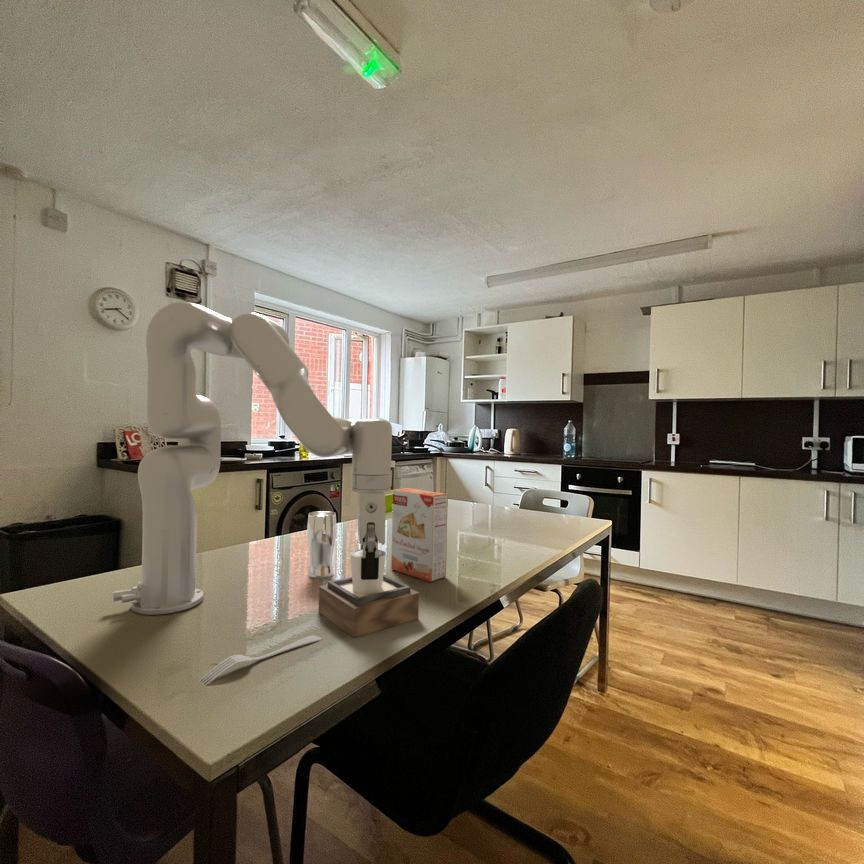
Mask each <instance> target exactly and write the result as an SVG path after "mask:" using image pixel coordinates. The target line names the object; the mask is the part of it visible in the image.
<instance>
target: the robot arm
mask: <svg viewBox="0 0 864 864" xmlns="http://www.w3.org/2000/svg"><path fill="white" fill-rule="evenodd" d="M145 348H146V357H147V358H146V359H147V361H146V362H147V385H146V386H147V387H146V389H147V390H146V391H147V392H146V393H147V395H146V399H147V400H146V403H147V404H146V420H147V425H148V429H149V430H150V432H151V433H152V434H153V435H155V436H156V437H158V438H160V439H161V438H163V439H166V440H167V439H169V440H177V445H166V446H161V447H158V448H154V449H152V450H151V451H149V452H147V453H146V454H145V455H144V456H143V457H142V459H141V460H140V462H139V465H138V469H137V480H138V481H137V482H138V487H139V491H140V497H141V504H142V505H141V507H142V526H141V527H142V535H141V536H142V541H141V543H142V544H141V549H142V550H141V580H139V581H137V585H135V586H134V585H133V586H132V587H131V588H130V589H129V588H128V589H119V590H118V589H117V590H114V591H113V590H112V595H111V596H112V602H113V603H114V602H119V601H121V603H122V604H125V603H129V602H131V610H132V611H133V612H135V613H137V614H140V615H151V616H154V615H156V616H157V615H167V614H173V613H178V612H182V611H186V610H189V609H191V608H193V607H195V606H197V605H199V604H200V603H201V602H203V600H204V596H205V595H204V591H202V589H200V588H196V583H197V582H196V577H197V573H196V572H197V571H196V570H197V569H196V568H197V535H198V533H197V530H198V522H197V520H198V518H197V517H198V515H197V514H198V513H197V506H196V501H195V498H194V496H193V493H192V490H196V489H200V488H204V487H207V486H209V485H210V484H211V483H213V482H214V481H215V480H216V478H217V477H218V475H219V472H220V468H221V457H222V456H221V453H222V452H221V448H222V447H221V446H222V444H221V441H222V440H221V439H222V437H221V436H222V435H221V434H222V431H221V430H222V421H221V415H220V412H219V409H218V407H217V406H216V404H215V403H214V402H213V401H212V400H211V399H209V398H208V397H206V396H203V395H200V394H197V385H196V383H197V370H196V365H195V362H194V359H193V357H192V353H191V350H193V349H195V350H198V351H200V352H201V351H202V352H204V353H209V354H212V355H216V356H219V357H225V358H226V357H227V358H235V359H242V360H244V361H245V362H246V363H247V364H248V366H249V367H250V368H251V369H252V371H253V372H254V373H255V374H256V375H257V377H258V378H259V379H260V381H261V382H262V383H263V384H264V386H265V387H266V388H267V390H268V391H269V392H270V395H271V397H272V400H273V403H274V405H275V407H276V408H277V411H278V413H279V415H280V417H281V418H282V420H283V421H284V423H285V424H286V426H287V427H288V429H290V432H292V433H293V435H294V437H296V438H297V439H298V441H299V442H300V444H301V445H302V446H303V447H304V448H305V449H306V450H307V451H308V452H309V453H311V454H312V455H314V456H315V457H320V458H330V457H336V456H342V455H350V454H351V455H352V456H351V457H352V460H351V492H355V493H357V508H356V509H357V510H356V511H357V532H358V543H359V544H360V549H363V557H361V579H362V580H376V579H378V576H379V557H378V550H379V544H381V545H382V546H384V545H385V544H386V515H387V514H386V511H387V510H386V493H388V492H391V486H392V485H391V484H392V481H391V479H392V449H393V448H392V445H393V444H392V443H393V442H392V441H393V439H392V438H393V427H392V424H391V422H390V421H389V420H385V419H376V418H375V419H374V418H373V419H372V418H364V419H363V418H362V419H356V420H355V419H348V418H343V417H336V416H332V414H330V411H328V410H327V408H325V406H324V404H322V402H321V401H320V399H319V398H318V397H317V396H316V394H315V392H314V391H313V389H312V387H311V385H310V382H309V370H308V368H307V366H306V365H305V363H304V362H303V361H302V360H301V358H300V357H299V356H298V355H297V354H296V352H295V351H294V349H293V348H292V347H291V345H290V339H289V336H288V333H287V331H286V330H285V328H284V327H283V326H281V325H280V324H279V323H277V322H276V321H273V320H271V319H269V318H268V317H266V316H265V315H263V314H261V313H260V314H259V313H257V312H244V313H241V314H239V315H237V316H236V317H235V318H232V317H227V316H224V315H223V314H220V313H218V312H215V311H213V310H212V309H210V308H207V307H205V306H203V305H200V304H197V303H193V302H190V301H175V302H171V303H169V304H167V305H165V306H163V307H161V308H160V309H159V310H158V311H156V313H155V314H154V315H153V316H152V318H151V320H150V321H149V322H148V326H147V329H146V336H145Z"/></svg>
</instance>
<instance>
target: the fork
mask: <svg viewBox="0 0 864 864" xmlns="http://www.w3.org/2000/svg"><path fill="white" fill-rule="evenodd" d="M320 641H323V638H322V637H320V636H318V635H309V636H305V637H302V638H300V639H298V640H296V641H293V642H291V643H289V644H288V645H285V646H282V647H281V648H278V649H276V650H274V651H271V652H268V653H266V654H263V655H260V656H257V657H249V656H247V655H243V654H233V655H231V656H228V657H227V658H224V659H223V660H222V661H220V662H219V663H218V664H217V665H215V666H214V667H212V669H210V671H208V672H206V674H205V675H203V677H201V678H200V679H199V680H198V682H200V684H201V683H202V685H203V686H204V687H206V686H208V685H209V684H210V683H212V682H213V681H214V680H215V679H217V678H218V677H220V676H221V675H222V674H223V673H225V672H226V671H228V670H229V669H231V668H233V667H234V666H235V665H238V664H241V663H244V662H245V663H247V662H252V661H259V660H264V659H268V658H271V657H273V656H276V655H278V654H281V653H285V652H287V651H290V650H293V649H296V648H300V647H302V646H305V645H309V644H310V645H311V644H312V643H313V644H314V643H317V642H320Z"/></svg>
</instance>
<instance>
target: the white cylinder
mask: <svg viewBox="0 0 864 864" xmlns="http://www.w3.org/2000/svg"><path fill="white" fill-rule="evenodd" d="M386 554H387V553H386V551H385V550H381V549H378V557H379V576H378V579H376V580H362V579H361V557H363V549H361V548H360V549H355V550H353V551H351V552H350V563H351V577H352V583H353V591H355V592H357V593H362V594H371V593H376V592H379V591H380V590H381V589H382V583H383V575H385V574H384V573H385V567H386V566H385V564H386V556H387V555H386Z"/></svg>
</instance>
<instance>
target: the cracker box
mask: <svg viewBox="0 0 864 864" xmlns="http://www.w3.org/2000/svg"><path fill="white" fill-rule="evenodd" d="M448 499H449V494H448V493H443V492H436V491H431V490H424V489H418V488H414V487H413V488H411V487H403V488H402V487H401V488H395V489H392V528H391V557H390V559H391V563H390V564H391V565H390V566H391V567H390V568H391V570H393V571H397V572H399V573H401V574H402V573H403V574H405V575H408V576H412V577H414V578H417V579H420V580H422V581H426V582H428V583H432V582H435V581H438V580H441V579H444V578H446V577H447V546H448V545H447V543H448V542H447V541H448V509H449V508H448V506H449V505H448V503H449V500H448Z"/></svg>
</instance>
